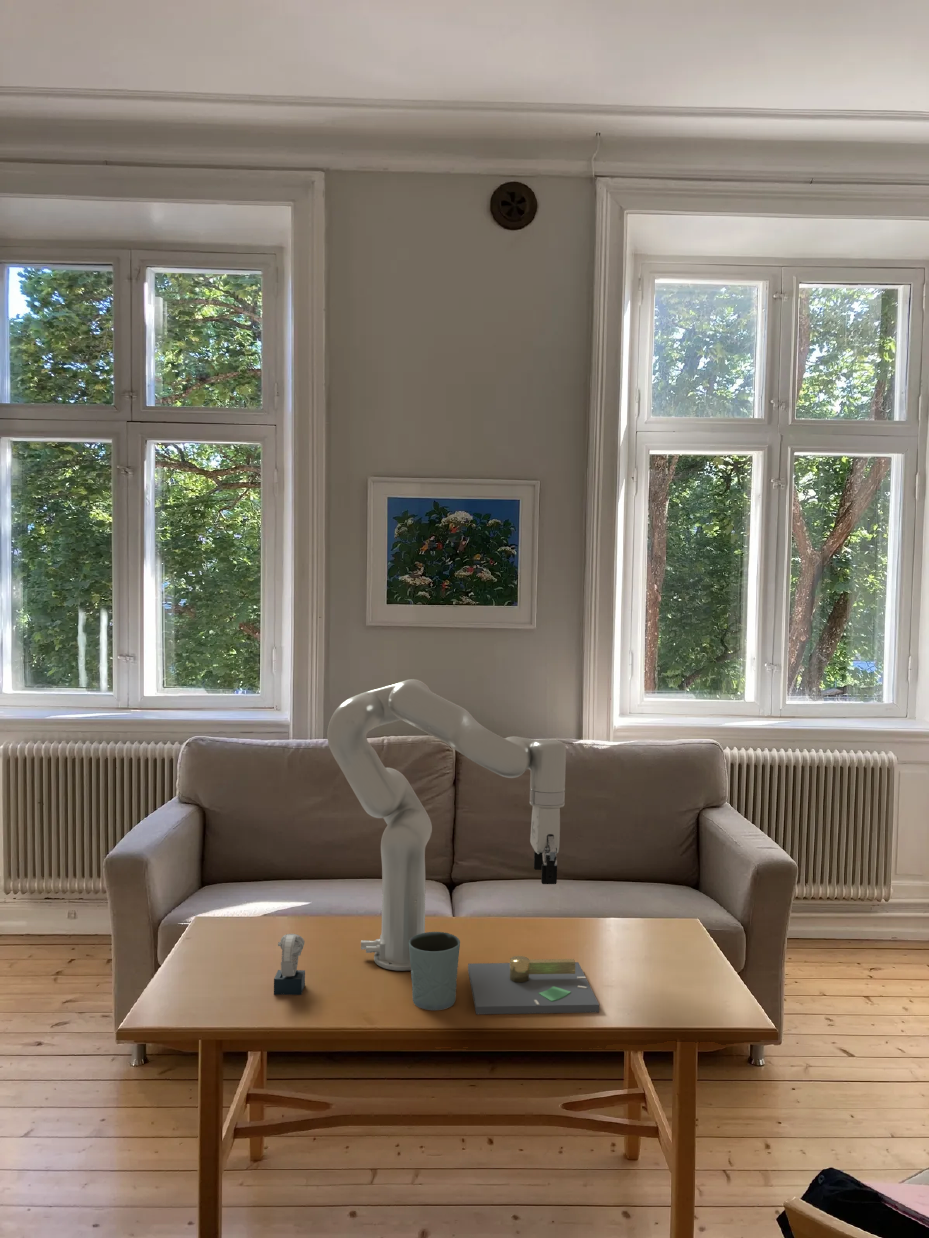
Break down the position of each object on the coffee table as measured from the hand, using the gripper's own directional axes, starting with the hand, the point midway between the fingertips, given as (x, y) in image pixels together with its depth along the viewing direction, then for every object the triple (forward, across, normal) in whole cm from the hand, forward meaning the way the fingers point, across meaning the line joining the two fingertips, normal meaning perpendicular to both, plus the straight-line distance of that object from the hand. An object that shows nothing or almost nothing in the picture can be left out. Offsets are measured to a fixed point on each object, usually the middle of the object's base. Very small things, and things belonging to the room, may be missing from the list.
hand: (544, 876), depth 190 cm
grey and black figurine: (+21, +8, -53) cm, 58 cm away
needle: (+19, +8, -1) cm, 20 cm away
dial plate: (+20, +10, -4) cm, 23 cm away
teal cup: (+21, +14, -24) cm, 35 cm away
